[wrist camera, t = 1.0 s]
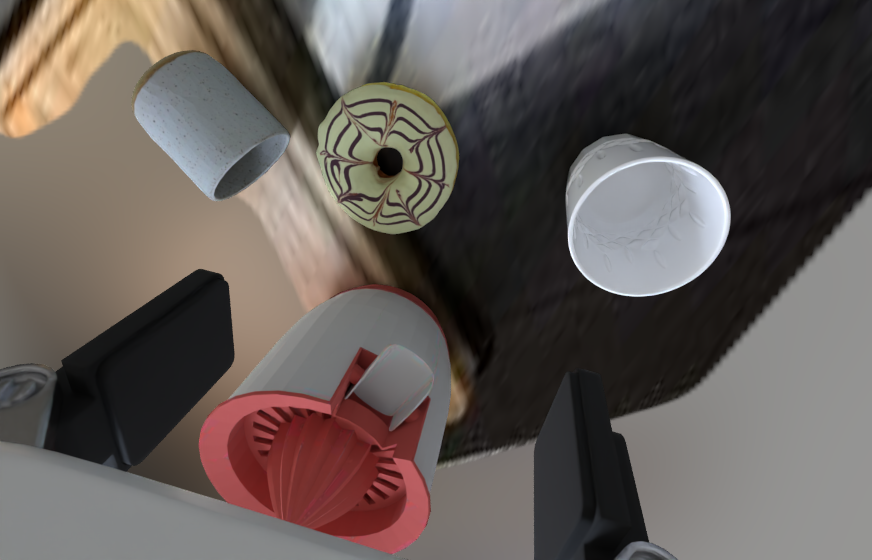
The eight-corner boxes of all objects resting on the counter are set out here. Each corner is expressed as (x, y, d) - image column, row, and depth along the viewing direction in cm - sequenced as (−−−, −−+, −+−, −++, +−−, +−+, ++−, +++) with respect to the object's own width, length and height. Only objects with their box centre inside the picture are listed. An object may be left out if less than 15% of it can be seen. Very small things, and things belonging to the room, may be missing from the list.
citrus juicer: (513, 324, 39) (500, 547, 22) (403, 417, 47) (330, 631, 30) (376, 214, 36) (236, 365, 19) (285, 332, 45) (130, 513, 27)
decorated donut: (325, 201, 37) (305, 217, 33) (339, 64, 31) (316, 67, 28) (442, 236, 36) (433, 254, 33) (477, 102, 31) (470, 108, 27)
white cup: (677, 115, 29) (740, 145, 20) (670, 226, 32) (722, 292, 23) (554, 134, 31) (564, 169, 22) (561, 236, 34) (571, 301, 25)
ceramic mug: (222, 40, 32) (140, 40, 25) (306, 124, 34) (250, 145, 27) (166, 140, 37) (85, 161, 30) (241, 209, 39) (180, 243, 32)
